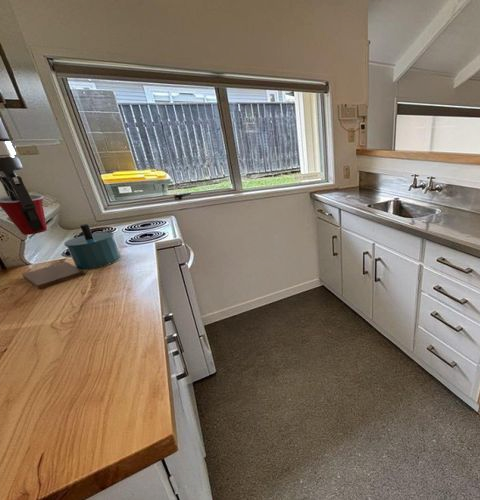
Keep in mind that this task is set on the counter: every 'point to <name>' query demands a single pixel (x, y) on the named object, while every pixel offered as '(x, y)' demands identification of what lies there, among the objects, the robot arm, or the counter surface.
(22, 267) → the counter surface
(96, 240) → the pot lid
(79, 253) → the pot
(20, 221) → the plastic cup
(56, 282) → the board
